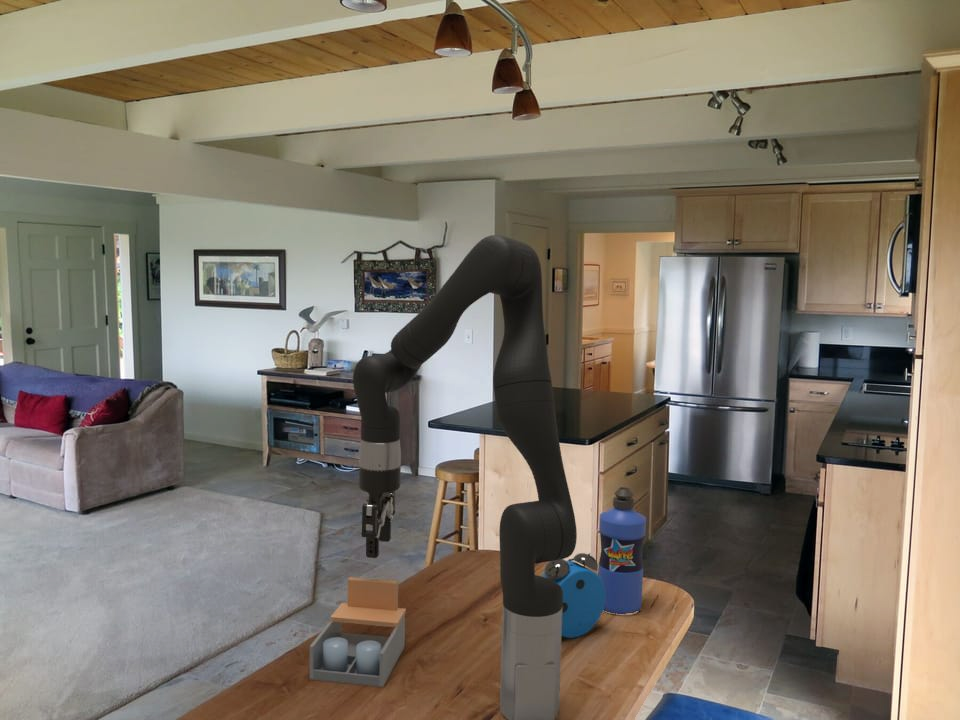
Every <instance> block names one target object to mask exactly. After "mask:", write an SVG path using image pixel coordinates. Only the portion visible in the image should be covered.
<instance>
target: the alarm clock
mask: <svg viewBox="0 0 960 720" xmlns="http://www.w3.org/2000/svg"><path fill="white" fill-rule="evenodd" d="M598 568H599V563H598V562H597V560H596V559H595V558H594V557H593V556H592V555H591V553H590V552H589V553H588V554H587V553H586V552H581V553H577V554H576V555H574V556H573V558H569V559H568V560H565V558H564V559H560V560H554V561H548V562H547V563H546V565H545V566H544V568H543V574H542V575H540V576H541V577H545V578H548V579H551V580H553V581H554V582H556V583H557V584H559V585H560V587H561V588H562V591H563V611H562V637H564V638H569V639H574V638H577V637H582V636H583V635H585V634H587V633H588V632H589V631H591V629H593V628H594V626H595V625H596V623H597V622H598V621H599V619H600V618H601V615H602V613H603V608H604V604H605V588H604V584H603V582H602V580H601V578H600V577H599V576H598V574H597V573H596V572H597V571H598Z"/></svg>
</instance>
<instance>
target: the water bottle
mask: <svg viewBox="0 0 960 720" xmlns="http://www.w3.org/2000/svg"><path fill="white" fill-rule="evenodd" d="M614 495H615V496H613V498H612V499H613V500H612V506H613V507H612V508H611V509H608V510H606V511H603V512H601V513H600V514H599V524H598V531H599V537H600V556H599V561H598V568H597V571H598V572H597V573H598V574H597V575H598V576H599V577H600V578H601V580H602V582H603V584H604V588H605V604H604V608H603V610H604V611H607V612H610V613H615V614H616V613H617V614H626V613H634V612H636V611H639V610H640V609H641V610H642V601H643V599H642V598H643V582H644V581H643V578H644V565H643V556H642V555H643V554H642V553H643V547H644V543H645V542H644V541H645V536H646V532H647V531H646V530H647V518H646V516H645V515H644V514H641V513H639V512H637V511H636V510H635V509H634V508H635V499H634V498H633V496H634V493H633V491H631V489H630V488H629V487H626V486H621V487H619V488H618V489H617V490H615V492H614Z"/></svg>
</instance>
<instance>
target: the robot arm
mask: <svg viewBox="0 0 960 720" xmlns="http://www.w3.org/2000/svg"><path fill="white" fill-rule="evenodd" d="M542 275H543V274H542V267H541V262H540V259H539V256H538V253H537V251H535V249H533V247H531V246H530V245H529V244H527V243H526V242H522V241H519V240H516V239H514V238H510V237H507V236H504V235H498V234H494V235H493V234H492V235H488V236H486V237H484V238H482V239H481V240H479V241H478V242H477V243H476V244H475V245H474V246H473V247H472V248H471V249H470V251H469V252H468V253H467V254H466V256H464V258H463V260H462V261H461V262H460V263H459V265H458V266H457V267H456V269H455V270H454V271H453V273H452V274H451V275H450V276H449V277H448V279H447V280H446V282H445V283H444V284H443V285H442V287H441V288H440V289H439V290H438V292H437V293H436V294H435V295H434V297H433V298H432V299H431V300H430V301H429V303H427V305H425V307H424V308H423V309H422V310H421V311H420V312H419V313H417V315H416V316H415V317H413V318H412V319H411V320H410V321H409V322H408V323H406V324H405V325H404V326H403V327H402V328H401V329H400V330H399V331H397V333H396V334H395V335H394V336H393V338H392V339H391V342H390V350H389V351H387V352H385V353H382V354H374V355H366V356H365V357H362V358H360V359H359V360H358V362H357V363H356V365H355V367H354V369H353V372H352V373H353V374H352V385H353V391H354V394H355V399H356V402H357V408H358V411H359V413H360V414H359V415H360V419H361V420H360V446H359V450H358V451H359V454H358V458H359V459H358V460H359V462H358V464H359V465H358V487H359V489H360V490H361V491H363V492H366V493H367V494H368V499H367V500H366V503H363V504H362V506H361V507H362V510H361V511H362V512H361V513H362V514H361V518H362V519H361V538H365V556H366V557H367V558H368V559H369V558H371V559H377V558H378V557H379V555H380V542H385V543H386V542H387V543H388V542H390V540H391V539H392V521H393V519H394V515H395V514H396V491H398V490H399V489H400V487H401V473H402V472H401V467H402V466H401V465H402V463H401V462H402V450H401V441H400V438H401V436H400V435H401V415H400V412H399V410H398V409H397V407H395V406H393V405H392V406H391V405H389V404H388V401H387V393H393V392H396V391H399V390H400V389H402V388H403V387H405V386H406V385H407V384H408V383H409V382H410V381H411V380H412V379H413V378H414V377H415V375H416V374H417V373H418V371H419V370H420V368H421V367H422V365H423V364H425V363H426V362H427V361H428V360H429V359H431V358H432V357H433V356H434V355H435V354H436V353H438V352H439V351H440V350H441V349H443V347H445V345H446V344H447V343H448V341H450V339H451V338H452V336H453V334H454V332H455V331H456V327H458V326H457V325H458V322H459V321H460V319H461V317H462V316H463V314H464V313H465V311H466V310H467V309H469V307H471V305H473V304H474V303H475V302H477V301H478V300H480V299H481V298H483V297H484V296H486V295H488V294H494V295H497V296H499V299H500V302H501V308H502V316H503V324H504V329H503V330H504V331H503V337H502V343H501V346H500V349H499V351H498V355H497V357H496V361H495V365H494V369H493V376H492V384H493V387H492V388H493V393H494V394H493V395H494V401H495V409H496V410H495V411H496V416H497V420H498V423H499V425H500V427H501V428H502V430H503V432H504V433H505V434H506V436H507V437H508V439H509V440H510V441H511V443H512V444H513V445H514V447H515V448H516V449H517V451H518V452H519V453H520V454H521V456H522V458H524V460H525V461H526V463H527V464H528V467H529V469H530V471H531V474H532V475H533V476H532V477H533V480H534V483H535V487H536V492H537V497H538V500H535V501H525V502H519V503H513V504H509V505H508V506H506V507H505V508H504V510H503V511H502V514H501V517H500V521H499V533H498V534H499V535H498V536H499V562H500V564H499V565H500V569H499V570H500V572H499V573H500V585H501V590H502V619H501V620H502V621H501V653H500V654H501V655H500V684H499V685H500V692H499V693H500V694H499V695H500V696H499V697H500V698H499V710H500V713H501V714H502V716H503V717H505V719H507V720H555V719H557V717H558V716H559V712H560V691H561V690H560V689H561V687H560V686H561V658H562V657H561V656H562V637H563V636H562V611H563V591H562V588H561V587H560V585H559V584H557V583H556V582H554V581H553V580H551V579H548V578H545V577H541V576H542V575H537V574H536V572H535V565H536V564H541V563H546V562H547V563H548V562H549V561H554V560H560V559H564V560H565V559H568V558H569V557H570V556H572V554H573V553H574V551H575V549H576V545H577V536H578V535H577V534H578V533H577V532H578V531H577V522H576V516H575V513H574V507H573V503H572V498H571V497H572V496H571V494H570V488H569V485H568V481H567V475H566V472H565V467H564V461H563V456H562V451H561V446H560V439H559V431H558V423H557V416H556V405H555V398H554V390H553V381H552V376H551V371H550V365H549V357H548V356H549V355H548V347H547V339H546V332H545V325H544V323H545V322H544V313H543V311H544V310H543V308H544V307H543V278H542V277H543V276H542ZM371 526H372V530H370V529H371Z"/></svg>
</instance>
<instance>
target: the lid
mask: <svg viewBox="0 0 960 720" xmlns="http://www.w3.org/2000/svg"><path fill="white" fill-rule="evenodd" d="M406 614H407V608H402V607H399V580H388V579H386V580H385V579H376V578H366V577H365V578H364V577H353V576H352V577H351V576H349V577H348V578H347V602H341V603H340V605H339V606H338V607H337V608H336V609H335V611H334V612H333V613H332V614H331V616H330V620H331V621H332V622H341V623H345V624H355V625H365V626H378V627H388V628H395V627H396V628H397V627H398V626H399V624H400V622H401V621H402V619H403V617H405V615H406Z"/></svg>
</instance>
